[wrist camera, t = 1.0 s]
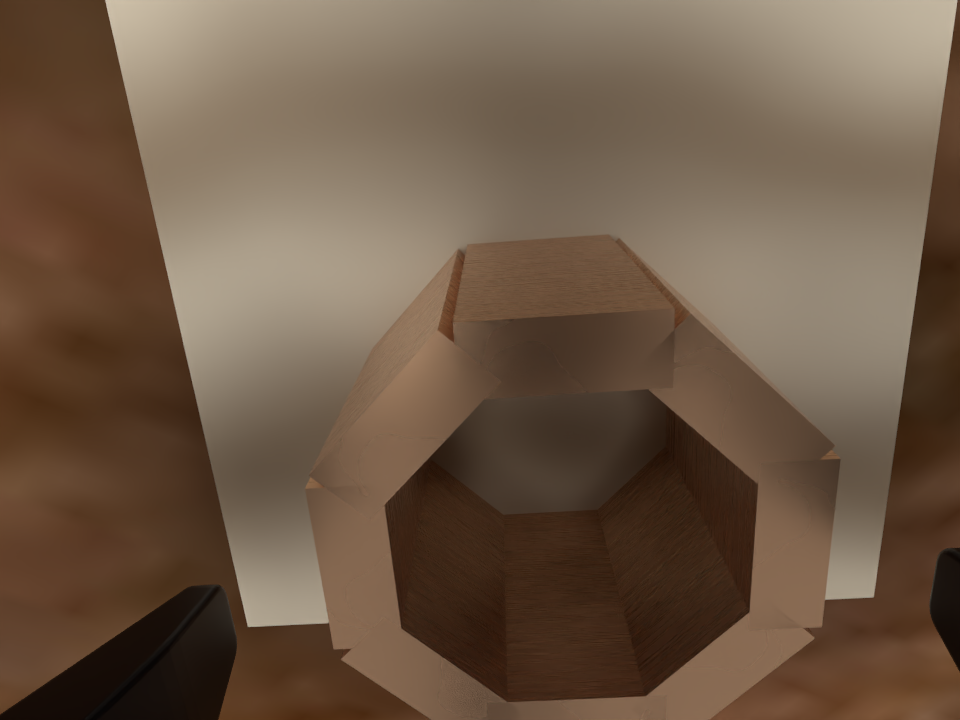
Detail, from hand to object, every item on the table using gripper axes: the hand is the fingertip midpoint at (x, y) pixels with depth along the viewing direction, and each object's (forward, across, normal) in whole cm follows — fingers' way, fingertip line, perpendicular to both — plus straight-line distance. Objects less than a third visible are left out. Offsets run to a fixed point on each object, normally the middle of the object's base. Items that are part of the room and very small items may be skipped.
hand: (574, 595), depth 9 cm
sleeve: (+6, 0, 0) cm, 6 cm away
